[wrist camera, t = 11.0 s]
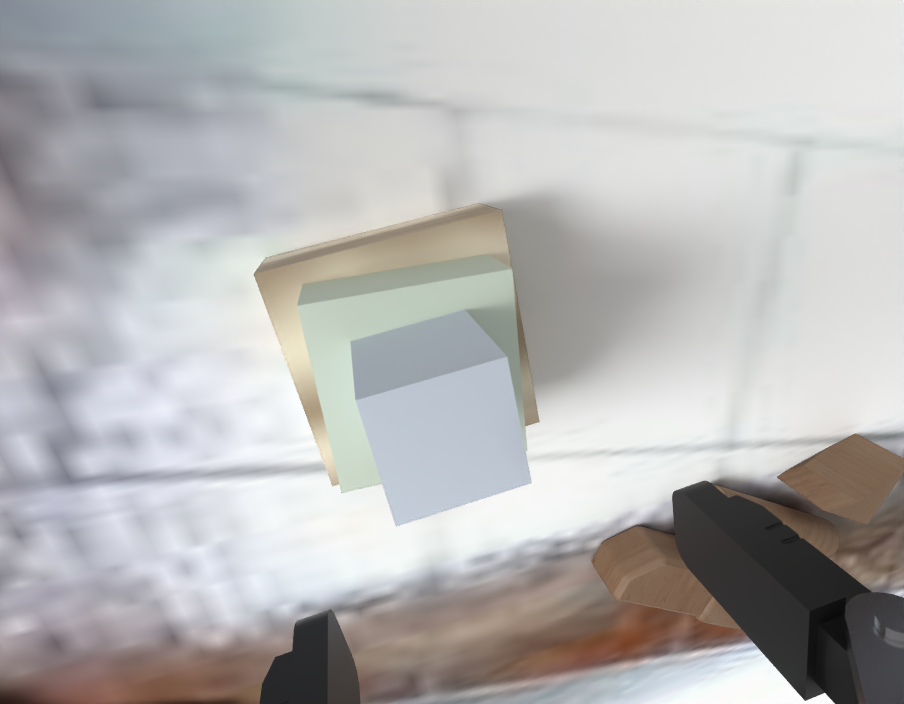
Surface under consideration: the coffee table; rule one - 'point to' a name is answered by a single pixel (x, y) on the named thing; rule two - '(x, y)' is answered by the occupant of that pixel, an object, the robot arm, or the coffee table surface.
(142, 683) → the coffee table surface
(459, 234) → the tower base
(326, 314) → the tower top
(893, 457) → the wooden block set
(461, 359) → the blue block
